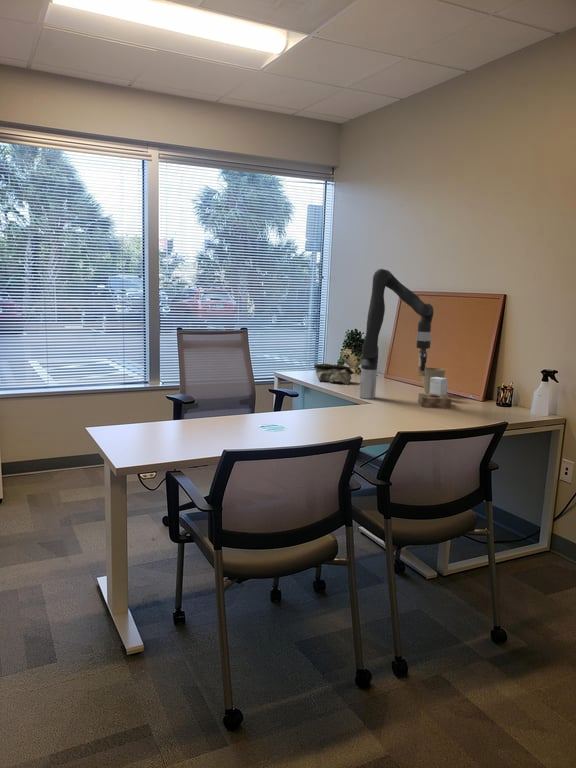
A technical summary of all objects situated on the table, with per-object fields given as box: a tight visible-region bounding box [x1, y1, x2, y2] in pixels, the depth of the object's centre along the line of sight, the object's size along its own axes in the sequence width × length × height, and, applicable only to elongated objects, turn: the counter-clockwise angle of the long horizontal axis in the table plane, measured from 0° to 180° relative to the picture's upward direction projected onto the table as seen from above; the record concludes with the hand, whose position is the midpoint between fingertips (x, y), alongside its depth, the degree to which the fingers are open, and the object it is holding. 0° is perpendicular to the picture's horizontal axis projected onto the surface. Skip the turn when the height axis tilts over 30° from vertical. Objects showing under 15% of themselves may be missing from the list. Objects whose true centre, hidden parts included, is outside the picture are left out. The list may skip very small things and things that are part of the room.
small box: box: [429, 377, 448, 396], centre depth 344 cm, size 8×6×13 cm
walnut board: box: [417, 393, 452, 409], centre depth 327 cm, size 16×14×5 cm
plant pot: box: [421, 366, 446, 394], centre depth 360 cm, size 15×15×16 cm
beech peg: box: [417, 357, 427, 377], centre depth 324 cm, size 4×4×10 cm
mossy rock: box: [313, 363, 355, 385], centre depth 391 cm, size 28×13×15 cm
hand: (422, 369), depth 324 cm, fingers closed on beech peg, 4 cm apart
